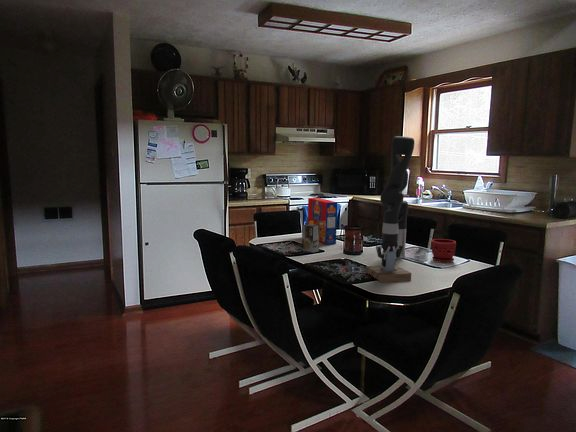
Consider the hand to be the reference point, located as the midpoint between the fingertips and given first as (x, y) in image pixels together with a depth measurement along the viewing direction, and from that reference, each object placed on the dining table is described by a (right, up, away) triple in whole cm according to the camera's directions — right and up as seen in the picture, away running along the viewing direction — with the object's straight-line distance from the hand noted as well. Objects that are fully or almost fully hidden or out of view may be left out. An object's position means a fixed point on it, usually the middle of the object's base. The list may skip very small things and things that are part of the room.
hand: (388, 266), depth 205 cm
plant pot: (+38, -1, +31) cm, 50 cm away
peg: (0, -4, +1) cm, 4 cm away
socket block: (0, -5, +1) cm, 5 cm away
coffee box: (-36, +3, +52) cm, 63 cm away
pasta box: (-27, +8, +83) cm, 87 cm away
